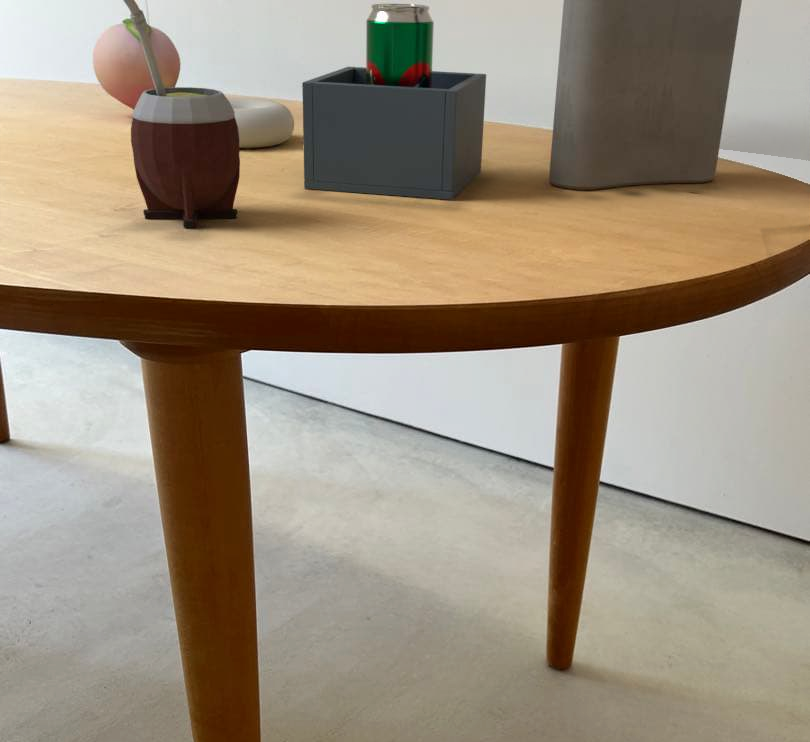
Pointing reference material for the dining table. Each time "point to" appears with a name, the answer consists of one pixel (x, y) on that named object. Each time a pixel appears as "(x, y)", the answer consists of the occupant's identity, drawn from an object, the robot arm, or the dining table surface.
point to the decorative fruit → (133, 62)
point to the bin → (393, 134)
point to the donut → (261, 122)
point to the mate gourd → (183, 146)
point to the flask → (641, 91)
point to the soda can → (399, 46)
